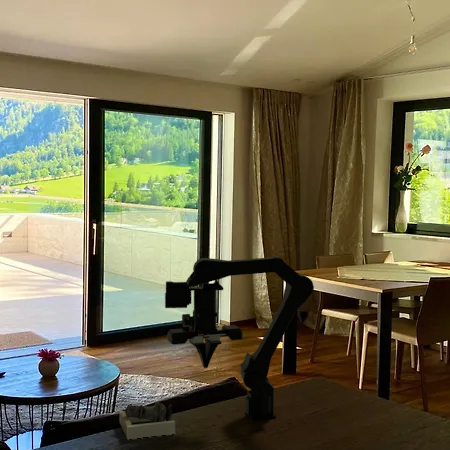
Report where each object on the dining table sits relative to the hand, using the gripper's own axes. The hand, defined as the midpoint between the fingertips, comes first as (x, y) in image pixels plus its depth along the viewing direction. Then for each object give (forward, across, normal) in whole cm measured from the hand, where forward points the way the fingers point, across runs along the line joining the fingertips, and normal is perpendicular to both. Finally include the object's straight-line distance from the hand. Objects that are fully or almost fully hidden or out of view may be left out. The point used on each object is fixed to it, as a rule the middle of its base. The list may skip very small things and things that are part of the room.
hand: (205, 367), depth 169 cm
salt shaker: (+10, +10, +3) cm, 15 cm away
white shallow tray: (+13, +16, +3) cm, 21 cm away
